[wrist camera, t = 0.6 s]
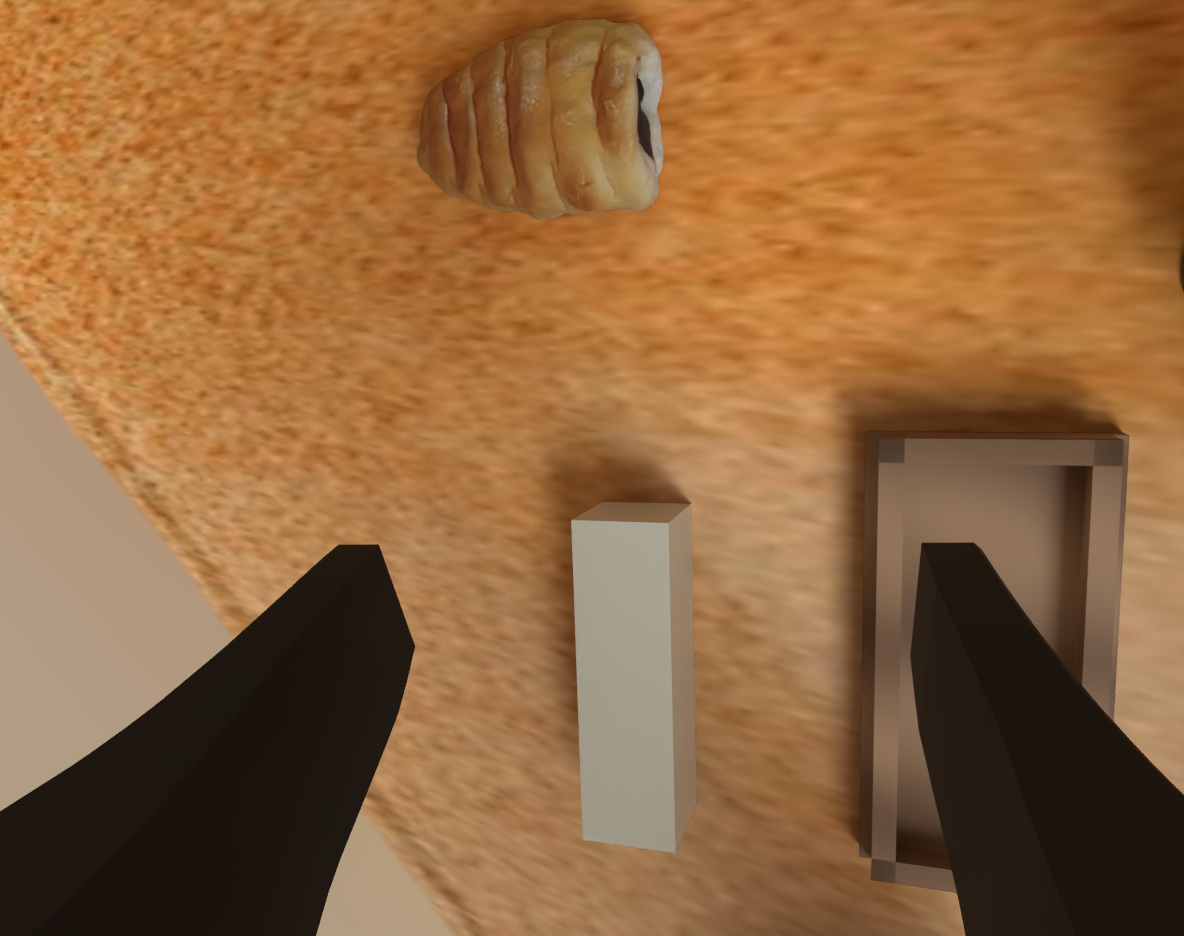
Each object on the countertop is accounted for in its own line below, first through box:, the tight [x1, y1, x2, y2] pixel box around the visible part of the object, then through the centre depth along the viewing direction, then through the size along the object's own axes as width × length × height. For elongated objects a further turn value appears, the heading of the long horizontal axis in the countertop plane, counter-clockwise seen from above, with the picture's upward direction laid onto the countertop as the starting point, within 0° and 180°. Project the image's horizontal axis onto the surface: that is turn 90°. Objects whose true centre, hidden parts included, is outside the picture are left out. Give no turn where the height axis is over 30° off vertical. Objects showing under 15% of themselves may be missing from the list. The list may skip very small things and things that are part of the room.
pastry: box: [417, 19, 664, 220], centre depth 33 cm, size 9×7×4 cm
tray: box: [859, 432, 1129, 893], centre depth 31 cm, size 16×8×2 cm, turn 2°
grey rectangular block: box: [571, 502, 697, 853], centre depth 34 cm, size 12×4×4 cm, turn 2°
